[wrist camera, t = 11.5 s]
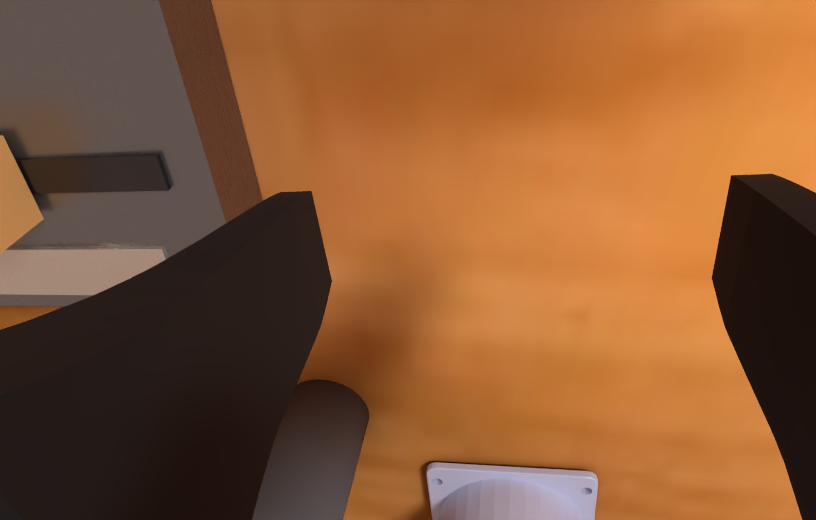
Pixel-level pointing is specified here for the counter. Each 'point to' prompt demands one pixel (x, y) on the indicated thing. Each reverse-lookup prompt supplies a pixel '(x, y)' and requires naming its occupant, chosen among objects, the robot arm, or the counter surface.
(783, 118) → the counter surface
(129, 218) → the panel
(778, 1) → the counter surface
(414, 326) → the counter surface
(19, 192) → the block
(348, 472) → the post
